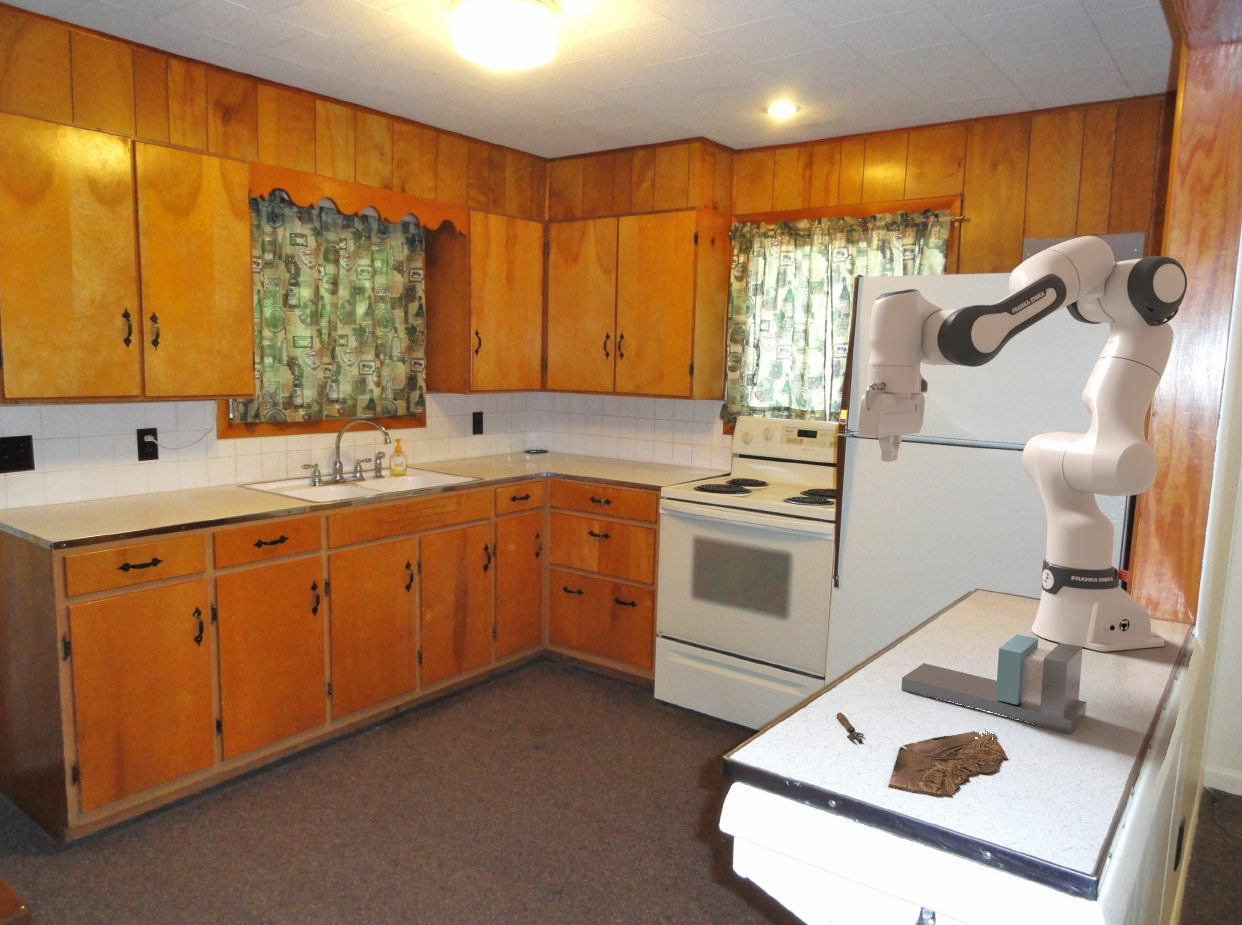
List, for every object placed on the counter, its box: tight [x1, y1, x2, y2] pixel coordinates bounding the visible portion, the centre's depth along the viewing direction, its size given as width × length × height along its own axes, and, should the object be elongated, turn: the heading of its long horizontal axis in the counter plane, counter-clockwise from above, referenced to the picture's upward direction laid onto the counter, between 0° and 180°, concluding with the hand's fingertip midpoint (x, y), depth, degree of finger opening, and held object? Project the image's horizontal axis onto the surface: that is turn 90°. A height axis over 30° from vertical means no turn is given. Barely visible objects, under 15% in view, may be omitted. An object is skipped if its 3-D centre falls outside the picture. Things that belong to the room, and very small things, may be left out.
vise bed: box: [901, 643, 1087, 735], centre depth 126 cm, size 24×9×10 cm, turn 49°
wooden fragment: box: [887, 729, 1009, 798], centre depth 108 cm, size 26×11×1 cm, turn 129°
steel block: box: [1020, 647, 1052, 709], centre depth 122 cm, size 3×6×7 cm, turn 139°
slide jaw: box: [996, 633, 1039, 705], centre depth 124 cm, size 3×9×8 cm, turn 139°
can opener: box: [835, 712, 865, 746], centre depth 116 cm, size 9×2×1 cm, turn 178°
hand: (889, 461), depth 148 cm, fingers closed
